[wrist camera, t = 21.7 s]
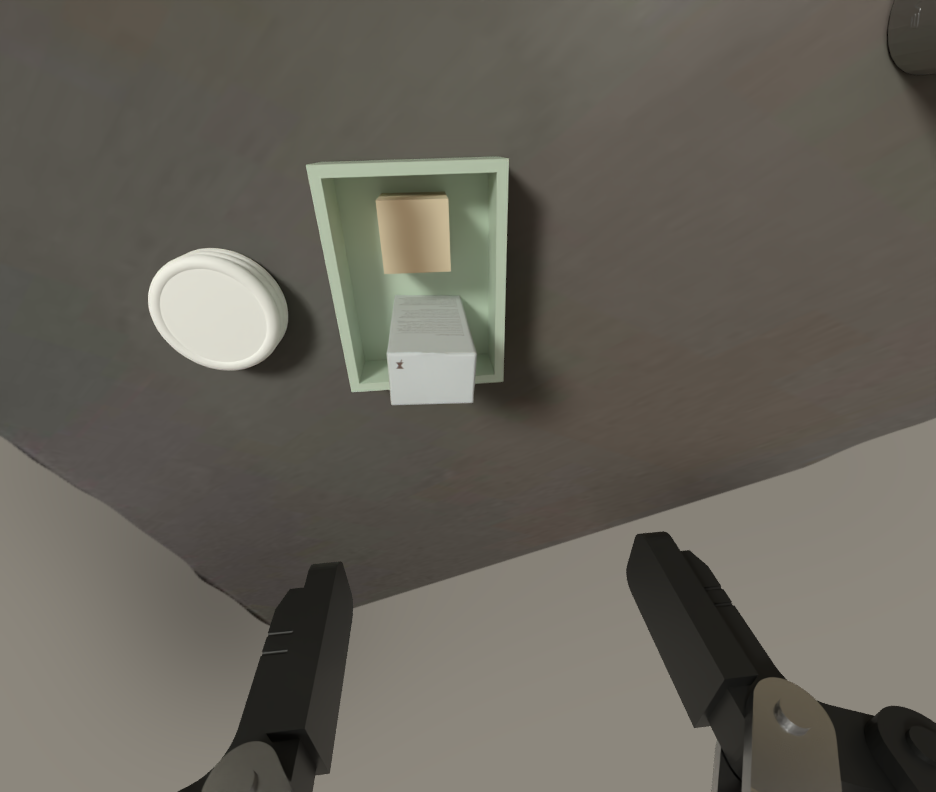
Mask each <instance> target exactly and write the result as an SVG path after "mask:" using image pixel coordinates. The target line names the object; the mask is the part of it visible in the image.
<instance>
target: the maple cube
mask: <svg viewBox="0 0 936 792" xmlns="http://www.w3.org/2000/svg"><path fill="white" fill-rule="evenodd" d="M376 209H377V217H378V226H379V234H380V243H381V251H382V259H383V268H384V274H401V273H427V272H451V260H450V232H449V203H448V197H447V195H446V193H445V192H406V193H381V194H380V196H379V197H378V198H377V200H376Z"/></svg>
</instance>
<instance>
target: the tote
mask: <svg viewBox="0 0 936 792" xmlns="http://www.w3.org/2000/svg"><path fill="white" fill-rule="evenodd" d="M306 169H307V173H308V178H309V183H310V188H311V193H312V198H313V203H314V208H315V213H316V218H317V223H318V228H319V233H320V238H321V243H322V248H323V253H324V258H325V262H326V267H327V272H328V277H329V282H330V287H331V292H332V297H333V302H334V307H335V312H336V317H337V322H338V327H339V332H340V337H341V342H342V347H343V351H344V356H345V361H346V366H347V371H348V376H349V381H350V386H351V391H352V392H362V391H377V390H390V385H389V374H388V363H387V349H388V343H389V334H390V327H391V319H392V313H393V305H394V298H395V295H449V296H458V295H459V296H460V297H461V300H462V304H463V307H464V311H465V314H466V318H467V322H468V325H469V329H470V332H471V336H472V339H473V343H474V346H475V349H476V352H477V361H476V375H475V384H478V383H492V382H503V377H504V336H505V295H506V254H507V213H508V172H509V159H508V158H503V157H498V156H497V157H464V158H432V159H400V160H368V161H336V162H319V163H314V164H309V165H306ZM406 192H445V193H446V195H447V197H448V203H449V232H450V260H451V272H427V273H401V274H384V268H383V259H382V251H381V243H380V234H379V226H378V217H377V209H376V200H377V198H378V197H379V196H380V194H381V193H406Z"/></svg>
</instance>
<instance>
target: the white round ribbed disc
mask: <svg viewBox="0 0 936 792" xmlns="http://www.w3.org/2000/svg"><path fill="white" fill-rule="evenodd" d="M148 304H149V310H150V314H151V317H152V319H153V322H154V324H155V326H156V328H157V329H158V331H159V332H160V334H161V335H162V336H163V338H164V339H165V340H166V341H167V342H168V343H169V344H170V345H171V346H172V347H173V348H174V349H175V350H177V351H178V352H179V353H180V354H182V355H183V356H185V357H186V358H188V359H190V360H192V361H194V362H196V363H198V364H200V365H203V366H206V367H209V368H213V369H218V370H241V369H246V368H249V367H252V366H254V365H257V364H259V363H260V362H262V361H264V360H265V359H266V358H267V357H268V356H270V354H271V353H272V352H273V351H274V349H275V348H276V346H277V345H278V344H279V342H280V341H281V339H282V338H283V336H284V334H285V332H286V329H287V325H288V307H287V303H286V300H285V297H284V294H283V292H282V290H281V289H280V287H279V285H278V284H277V282H276V281H275V280H274V278H273V277H272V276H271V275H270V274H269V273H268V272H267V271H266V270H265V269H264V268H263V267H261V266H260V265H259V264H258V263H256V262H255V261H253V260H252V259H250V258H248V257H246V256H244V255H242V254H239V253H237V252H234V251H230V250H226V249H219V248H204V249H198V250H194V251H191V252H189V253H187V254H185V255H182V256H180V257H178V258H176V259H174V260H172V261H170V262H168V263H167V264H166V265H164V266H163V267H162V268H161V269H160V270H159V271H158V272H157V274H156V275H155V277H154V278H153V280H152V283H151V285H150V289H149V294H148Z"/></svg>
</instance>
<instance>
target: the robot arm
mask: <svg viewBox="0 0 936 792" xmlns="http://www.w3.org/2000/svg"><path fill="white" fill-rule="evenodd" d="M888 46H889V50H890V53H891V57H892V59H893V60H894V62H895V64H896V65H897V66H898V67H899V68H900V69H902V70H903V71H904V72H906V73H910V74H913V75H928V74H935V73H936V0H895V1H894V4H893V7H892V10H891V14H890V20H889V26H888ZM626 571H627V572H626V573H627V581H628V585H629V588H630V591H631V593H632V595H633V597H634V599H635V602H636V604H637V606H638V608H639V610H640V612H641V615H642V617H643V619H644V621H645V623H646V625H647V627H648V630H649V632H650V634H651V636H652V638H653V640H654V642H655V645H656V647H657V649H658V651H659V653H660V655H661V658H662V660H663V662H664V664H665V666H666V668H667V670H668V673H669V675H670V677H671V679H672V681H673V683H674V685H675V688H676V690H677V692H678V694H679V696H680V698H681V701H682V703H683V705H684V707H685V709H686V711H687V713H688V716H689V718H690V720H691V722H692V724H693V726H694V728H698V727H706V726H711V728H712V730H713V732H714V734H715V736H716V738H717V742H716V747H715V758H714V768H713V779H712V790H711V792H936V723H934V722H933V721H932V720H930V719H929V718H927V717H925V716H923V715H922V714H920V713H918V712H916V711H913V710H911V709H908V708H905V707H899V706H888V707H885V708H883V709H882V710H881V711H880V712H878V713H877V714H876V715H875V716H873V715H869V714H865V713H861V712H856V711H852V710H848V709H843V708H840V707H836V706H831V705H828V704H825V703H822V702H819V701H817V700H815V699H814V697H812V696H811V695H810V694H809V693H808V692H806V691H805V690H804V689H802V688H801V687H799V686H798V685H796V684H794V683H792V682H790V681H787V679H785V677H784V676H783V675H782V674H781V673H780V672H779V671H778V669H777V668H776V667H775V665H774V664H773V662H772V661H771V659H770V658H769V656H768V655H767V653H766V652H765V650H764V649H763V648H762V646H761V644H760V643H759V641H758V640H757V638H756V637H755V635H754V634H753V633H752V631H751V630H750V628H749V627H748V625H747V624H746V622H745V621H744V619H743V618H742V616H741V615H740V613H739V612H738V610H737V609H736V607H735V606H733V605H732V603H731V600H730V598H729V597H728V595H727V594H726V592H725V591H724V590H723V589H721V585H720V584H719V582H718V581H717V579H716V578H715V576H714V575H713V573H712V572H711V570H710V569H709V567H708V566H707V565H706V564H705V563H704V562H702V561H701V560H700V559H699V558H698V557H696V556H695V555H694V554H693V553H692V552H691V551H689V550H687V551H680V550H679V549H678V547H677V545H676V543H675V542H674V541H673V539H672V537H671V536H670V535H669V534H668V533H667V532H654V533H643V534H637V535H636V537H635V540H634V544H633V547H632V550H631V554H630V558H629V561H628V565H627V569H626ZM352 616H353V599H352V593H351V590H350V586H349V583H348V580H347V576H346V573H345V569H344V566H343V563H342V562H331V563H321V564H313V565H311V567H310V569H309V571H308V575H307V579H306V582H305V586H304V588H295V589H290V590H289V591H288V592H287V594H286V595H285V597H284V598H283V600H282V601H281V602H280V604H279V605H278V607H277V608H276V609H275V612H274V616H273V619H272V622H271V625H270V628H269V632H268V637H267V639H266V642H265V644H264V648H263V651H262V652H263V654H262V656H261V657H260V661H259V663H258V667H257V670H256V673H255V676H254V680H253V683H252V686H251V689H250V692H249V695H248V699H247V702H246V705H245V708H244V711H243V714H242V718H241V721H240V724H239V728H238V730H237V733H236V735H235V738H234V740H233V742H232V744H231V746H230V747H229V749H228V750H227V752H226V753H225V755H224V756H223V757H222V759H221V760H220V761H219V763H217V765H216V766H215V767H214V768H213V769H212V770H211V771H210V772H208V773H207V774H206V775H205V776H204V777H202V778H201V779H199V780H198V781H197V782H195V783H193V784H191V785H190V786H188V787H186V788H184V789H182V790H180V791H178V792H312V791H313V785H314V779H315V775H322V774H329V773H330V768H331V761H332V754H333V747H334V740H335V733H336V726H337V720H338V712H339V706H340V698H341V692H342V686H343V678H344V672H345V665H346V658H347V651H348V644H349V638H350V631H351V624H352Z"/></svg>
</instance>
